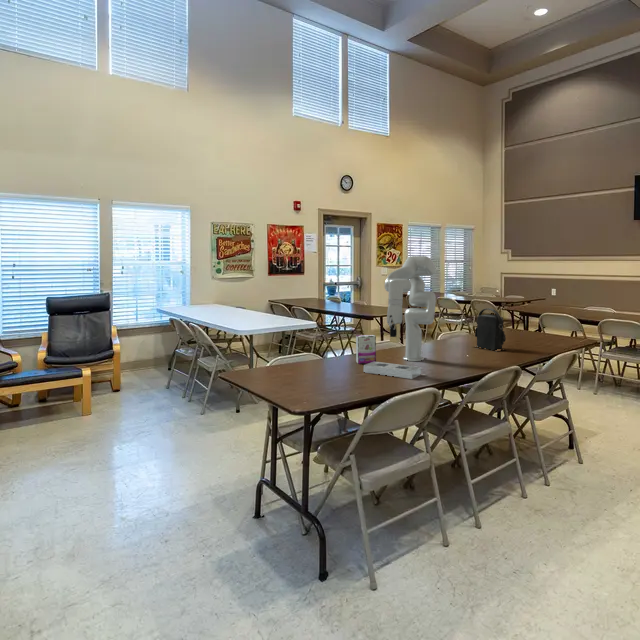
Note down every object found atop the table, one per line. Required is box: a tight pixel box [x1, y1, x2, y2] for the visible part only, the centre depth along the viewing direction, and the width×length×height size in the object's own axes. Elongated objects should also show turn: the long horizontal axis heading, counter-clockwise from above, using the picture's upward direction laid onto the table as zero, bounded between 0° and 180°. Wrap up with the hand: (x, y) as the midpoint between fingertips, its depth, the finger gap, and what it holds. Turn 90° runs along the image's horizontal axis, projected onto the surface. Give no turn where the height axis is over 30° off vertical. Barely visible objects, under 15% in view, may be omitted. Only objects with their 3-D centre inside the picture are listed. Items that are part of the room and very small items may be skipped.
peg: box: [389, 323, 401, 344], centre depth 255 cm, size 4×4×10 cm
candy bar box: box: [355, 334, 377, 365], centre depth 280 cm, size 11×5×16 cm, turn 101°
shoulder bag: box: [474, 308, 507, 351], centre depth 322 cm, size 23×9×28 cm, turn 34°
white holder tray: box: [363, 361, 422, 380], centre depth 253 cm, size 12×28×4 cm, turn 56°
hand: (394, 335), depth 255 cm, fingers closed on peg, 4 cm apart
